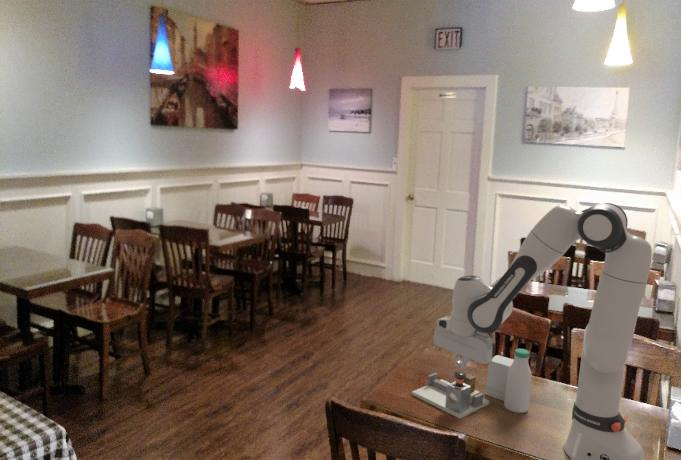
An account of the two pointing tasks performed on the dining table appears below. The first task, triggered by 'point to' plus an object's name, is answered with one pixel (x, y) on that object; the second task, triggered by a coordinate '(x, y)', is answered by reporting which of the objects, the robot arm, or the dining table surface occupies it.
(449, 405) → the cabinet
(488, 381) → the supplement box
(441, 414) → the dining table surface
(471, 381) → the carriage
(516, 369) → the milk bottle
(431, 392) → the rail bed
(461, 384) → the knob
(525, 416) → the dining table surface
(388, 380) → the dining table surface
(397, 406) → the dining table surface
